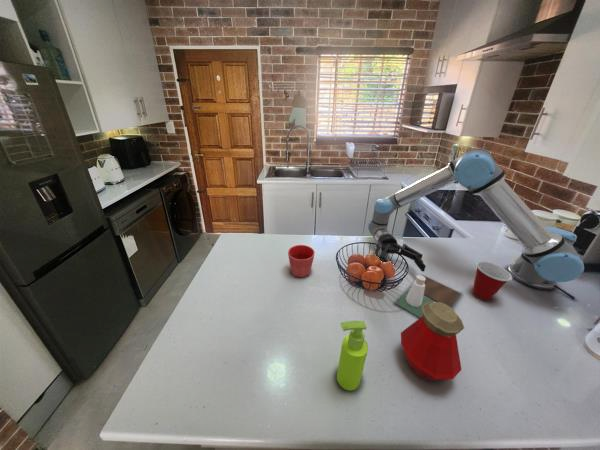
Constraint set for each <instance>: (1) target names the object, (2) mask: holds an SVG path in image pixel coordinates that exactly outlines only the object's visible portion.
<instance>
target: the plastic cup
mask: <svg viewBox="0 0 600 450" xmlns="http://www.w3.org/2000/svg"><path fill="white" fill-rule="evenodd" d="M512 280H513V277H512V276H511V274H510V273H509V272H508V271H507V269H506V268H503V267H502V266H500V265H497V264H495V263H492V262H489V261H481V260H480V261H478V262H477V263H476V271H475V276H474V280H473V286H472V293H473V295H474V297H476V298H479V299H481V300H482V301H483V300H484V301H490V300H491V299H492V298H493V297H494V296H495V295H496V294H497V293H498V292H499V291H500V290H501V289H502V287H503V286H504V285H505V284H507V283H508V282H510V281H512Z"/></svg>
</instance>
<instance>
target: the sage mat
mask: <svg viewBox="0 0 600 450" xmlns="http://www.w3.org/2000/svg"><path fill="white" fill-rule="evenodd" d="M409 290H410V289H408V290H407V291H406V292H405V293H404V295H402V296H401V297H400V299H398V300H397V301H396V303H395V305H396V306H398V307H400V308H402V309H403V310H405V311H407V312H408V313H409V314H411V315H413V316H414V317H416V318H418V319H419V318H421V317H422V316H423V312H422V305H423V304H425V303H426V302H434V300H432V299H430V298H428V297H426V296H423V301H422V305H420V306H419V307H414V306H411V305H410V304H408V303H407V301H406V297H407V295H408V293H409Z"/></svg>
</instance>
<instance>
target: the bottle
mask: <svg viewBox="0 0 600 450" xmlns="http://www.w3.org/2000/svg"><path fill="white" fill-rule="evenodd" d="M422 312H423V316H422V317H421V318H418V319H417V320H415V321H414V322H412V323H411V324H410V325H409V326H407V327H405V328H404V329H403V330H402V331H401V332H400V342H401V347H402V349H403V353H404V356H405V359H406V361H407V363H408V365H409V368H410V369H411V370H412V371H413V372H414V373H415V374H416V375H417V376H419V377H420V378H422V379H423V380H424V381H428V382H429V381H430V382H439V381H449V380H454V379H455V378H456V377H457V375H459V373H460V372H461V371H462V365H461V364H462V363H461V358H460V352H459V345H458V339H457V335H458V334H459V333H461V332H462V331H463V330H465V326H464V323H463V320H462V319H461V318H460V316H459V315H458V313H456V311H455V310H454V309H453V308H452V307H451V308H450V307H449V306H448V305H446V304H443V303H441V302H436V301H433V302H426V303H425V304H423V305H422Z"/></svg>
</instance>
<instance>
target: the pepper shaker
mask: <svg viewBox="0 0 600 450" xmlns="http://www.w3.org/2000/svg"><path fill="white" fill-rule="evenodd" d="M424 276H425V275H417V276H416V279H415V280H414V281H412V284H411V286H410V290H409V289H408V290H409V293H408V295H407V297H406V301H407V303H408V304H410V305H411V306H414V307H419V306H420V305H422V301H423V297H424V296H425V295H424V290H425V284H424V282H425V280H426V278H425V277H426V276H425V277H424Z"/></svg>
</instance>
